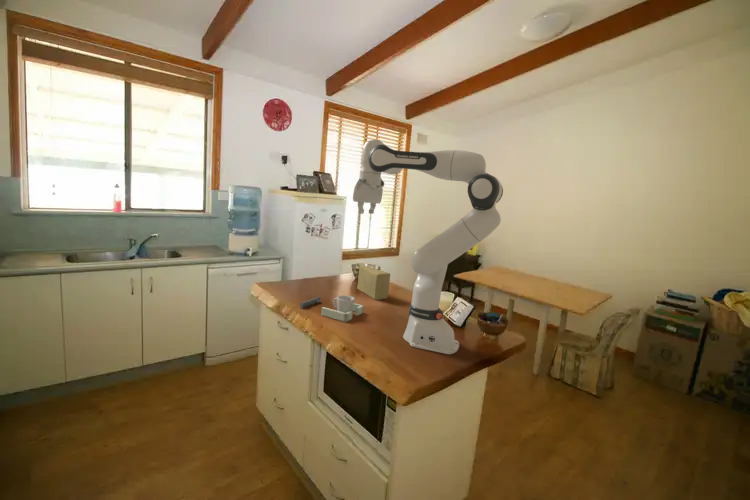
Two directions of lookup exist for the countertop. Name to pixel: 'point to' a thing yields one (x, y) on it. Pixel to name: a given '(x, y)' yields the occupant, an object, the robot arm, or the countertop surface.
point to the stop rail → (309, 302)
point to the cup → (344, 303)
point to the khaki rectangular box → (373, 282)
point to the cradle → (341, 315)
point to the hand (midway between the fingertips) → (366, 213)
